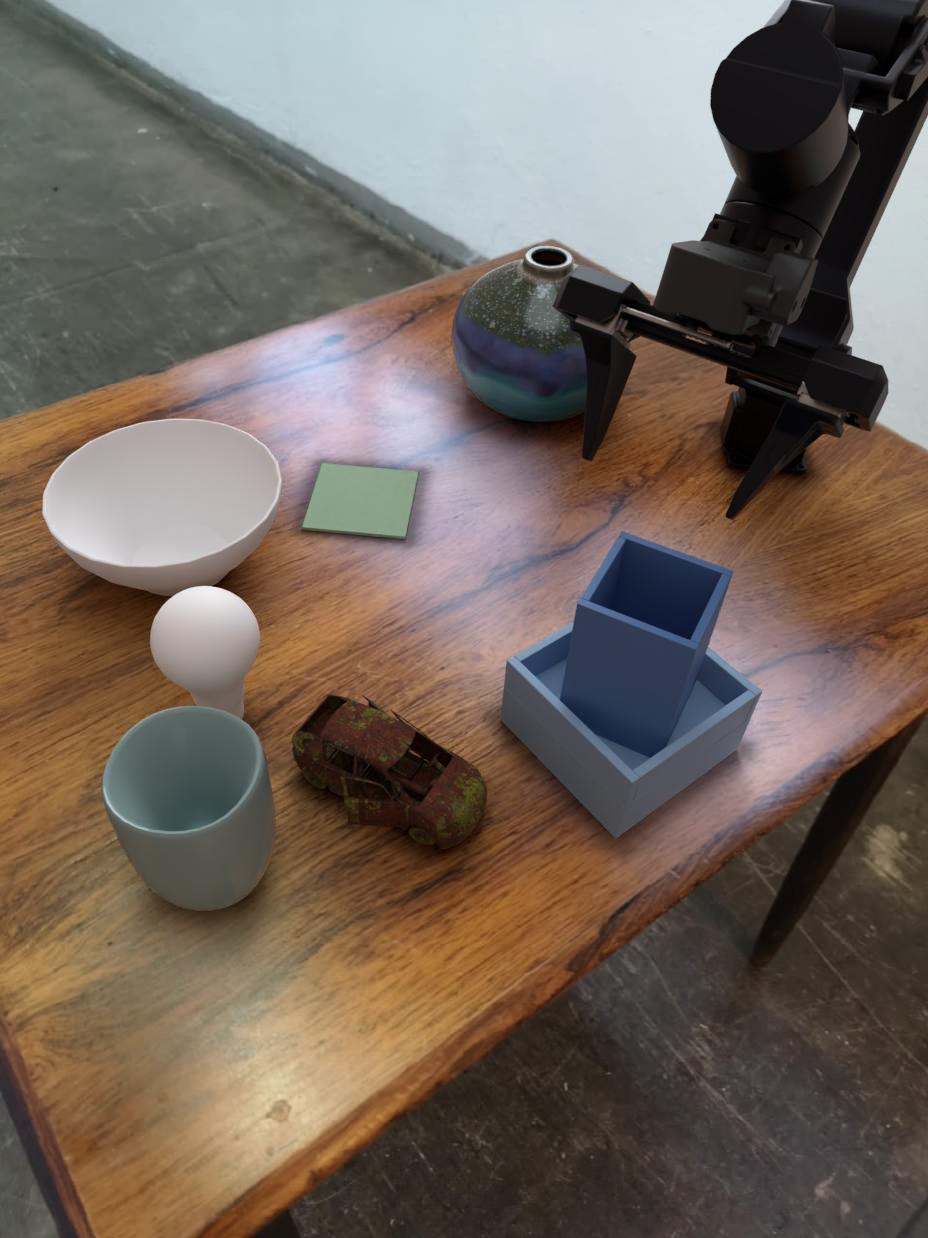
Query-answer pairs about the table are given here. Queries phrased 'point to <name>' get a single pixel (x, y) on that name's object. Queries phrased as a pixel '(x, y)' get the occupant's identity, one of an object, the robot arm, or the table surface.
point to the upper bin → (641, 641)
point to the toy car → (389, 772)
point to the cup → (192, 805)
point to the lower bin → (605, 770)
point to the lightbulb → (207, 645)
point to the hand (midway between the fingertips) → (655, 488)
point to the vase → (521, 340)
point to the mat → (361, 501)
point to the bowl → (164, 503)
